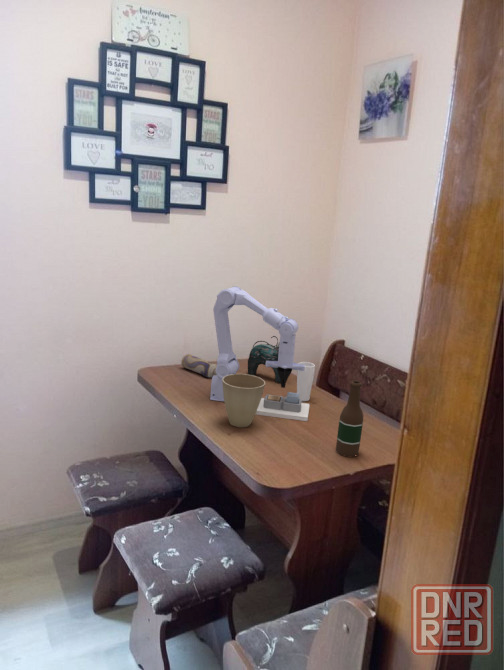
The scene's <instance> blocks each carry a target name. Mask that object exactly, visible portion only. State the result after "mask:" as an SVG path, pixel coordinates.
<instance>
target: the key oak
mask: <svg viewBox="0 0 504 670" xmlns="http://www.w3.org/2000/svg"><path fill="white" fill-rule="evenodd" d="M274 395H275V394H269V397H268V400H271V401H279V402H280V396H281V395H276V396H274Z"/></svg>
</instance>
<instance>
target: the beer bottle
mask: <svg viewBox="0 0 504 670" xmlns="http://www.w3.org/2000/svg"><path fill="white" fill-rule="evenodd" d="M349 385H350V388H349V395H348V400H347V403H346V405H345V406H344V407H343V408H342V411H341V412H340V416H339V420H338V428H337V429H338V430H337V434H336V435H337V436H336V446H335V452H336V451H337V452H338V453H337V452H336V453H337V454H339V455H340V454H341V456H342V455H345V456H344V457H347V456H354V457H356V456H355V455H357V456H359V455H358V454H359V451H360V446H361V439H362V438H361V437H362V430H363V424H364V411H363V409H362V407H361V404H360V403H361V402H360V401H361V388H362V387H363V384H362V382H360V381H359V380H351V381H350V384H349Z"/></svg>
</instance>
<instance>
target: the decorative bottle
mask: <svg viewBox="0 0 504 670" xmlns="http://www.w3.org/2000/svg"><path fill="white" fill-rule="evenodd" d="M180 362H181V367H183V368H185V369H187V370H190V371H192V372H195V373H198V374H200V375H201V376H204V377H205V378H209V379H212V378H213V376H214V375H217V374H216V367H217V363H213V362H212V361H211V362H210V361H209V360H206V359H203V358H201V357H199V356H195V355H192V354H190V353H187V354H185V355H183V357H182V359H181V361H180Z"/></svg>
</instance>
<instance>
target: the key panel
mask: <svg viewBox="0 0 504 670" xmlns="http://www.w3.org/2000/svg"><path fill="white" fill-rule="evenodd" d="M269 395H270V394H265V396H264V397H262V398H261V401H260V403H259V406H258V409H257V411H256V413H255V415H256V416H257V415H258V416H265V417H272V418H273V417H274V418H281V419H286V420H296V421H302V422H303V421H304V422H308V420H309V412H310V403H306V402H303V401H302V400H301V399H300V398H299V400H298V404H297V403H289V402H286V398H287V396H284V395H283V396H282V395H279V396H280V402H279V401H271V400H268V397H269ZM273 395H274V396H277V395H275V394H273Z"/></svg>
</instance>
